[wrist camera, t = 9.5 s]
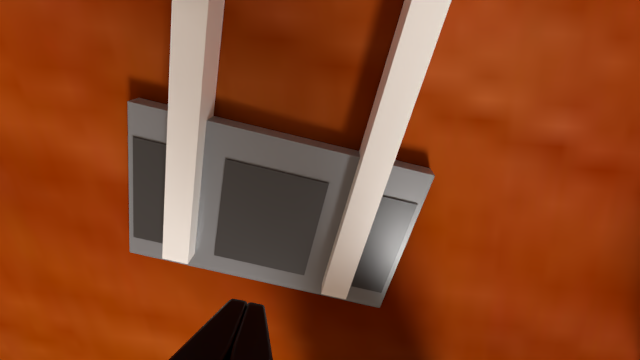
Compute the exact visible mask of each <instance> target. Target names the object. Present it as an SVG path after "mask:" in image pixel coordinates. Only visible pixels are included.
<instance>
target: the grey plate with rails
mask: <svg viewBox="0 0 640 360" xmlns="http://www.w3.org/2000/svg"><path fill="white" fill-rule="evenodd" d="M450 3H451V0H404V3H403V7H402V10H401V13H400V17H399V20H398V23H397V27H396V30H395V33H394V37H393V40H392V43H391V47H390V50H389V53H388V57H387V60H386V63H385V67H384V70H383V73H382V77H381V80H380V83H379V87H378V90H377V93H376V97H375V100H374V103H373V107H372V110H371V113H370V117H369V120H368V123H367V127H366V130H365V133H364V137H363V140H362V143H361V147H360V150H359V151H357V150H353V149H348V148H344V147H340V146H336V145H332V144H328V143H324V142H320V141H316V140H311V139H307V138H303V137H299V136H295V135H291V134H287V133H283V132H278V131H274V130H270V129H266V128H262V127H258V126H254V125H250V124H245V123H241V122H237V121H233V120H229V119H225V118H221V117H217V116H214V106H215V96H216V86H217V76H218V65H219V55H220V45H221V34H222V24H223V14H224V4H225V0H172V12H171V39H170V65H169V92H168V105H167V104H163V103H159V102H155V101H151V100H147V99H142V98H136V99H133V100H130V101H128V168H129V240H130V252H131V253H136V254H140V255H145V256H149V257H154V258H158V259H163V260H167V261H172V262H176V263H181V264H185V265H190V266H194V267H198V268H203V269H207V270H212V271H216V272H221V273H225V274H230V275H234V276H239V277H243V278H248V279H252V280H257V281H261V282H265V283H270V284H274V285H279V286H283V287H288V288H292V289H297V290H301V291H306V292H310V293H315V294H319V295H324V296H328V297H332V298H337V299H341V300H346V301H350V302H355V303H359V304H364V305H368V306H373V307H377V308H380V306H381V303H382V301H383V299H384V296H385V294H386V291H387V289H388V287H389V284H390V282H391V279H392V277H393V275H394V272H395V270H396V267H397V265H398V263H399V260H400V258H401V255H402V253H403V251H404V248H405V246H406V243H407V241H408V239H409V236H410V234H411V231H412V229H413V227H414V224H415V222H416V219H417V217H418V215H419V212H420V210H421V207H422V205H423V203H424V200H425V198H426V195H427V193H428V191H429V188H430V186H431V183H432V181H433V179H434V176H435V175H434V174H433V172H432V171H431V169H430V168H427V167H423V166H419V165H414V164H410V163H406V162H402V161H398V160H395V159H396V156H397V153H398V150H399V147H400V145H401V142H402V139H403V136H404V133H405V130H406V128H407V125H408V122H409V119H410V116H411V113H412V111H413V108H414V105H415V102H416V99H417V96H418V94H419V91H420V88H421V85H422V82H423V80H424V77H425V74H426V71H427V68H428V65H429V63H430V60H431V57H432V54H433V51H434V48H435V46H436V43H437V40H438V37H439V34H440V31H441V29H442V26H443V23H444V20H445V17H446V14H447V12H448V9H449V6H450Z"/></svg>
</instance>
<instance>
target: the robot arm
mask: <svg viewBox="0 0 640 360" xmlns="http://www.w3.org/2000/svg"><path fill="white" fill-rule="evenodd" d="M169 360H273V358H272V352H271V345H270V339H269V332H268V326H267V319H266V313H265V307H264V306H263V305H261V304H256V303H248V304H247V302H245V301H242V300H237V299H231V300H229V301H228V302H227V303H226V304H225V305H224V306H223V307H222V308H221V309H220V310H219V311H218V312H217V313H216V314H215V315H214V316H213V317H212V318H211V319H210V320H209V321H208V322H207V323H206V324H205V325H204V326H203V327H202V328H201V329H200V330H199V331H198V332H196V333H195V334H194V335H193V336H192V337H191V338H190V339H189V340H188V341H187V342H186V343H185V344H184V345H183V346H182V347H181V348H180V349H179V350H178V351H177V352H176V353H175V354H174V355H173V356H172V357H171V358H170V359H169Z"/></svg>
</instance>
